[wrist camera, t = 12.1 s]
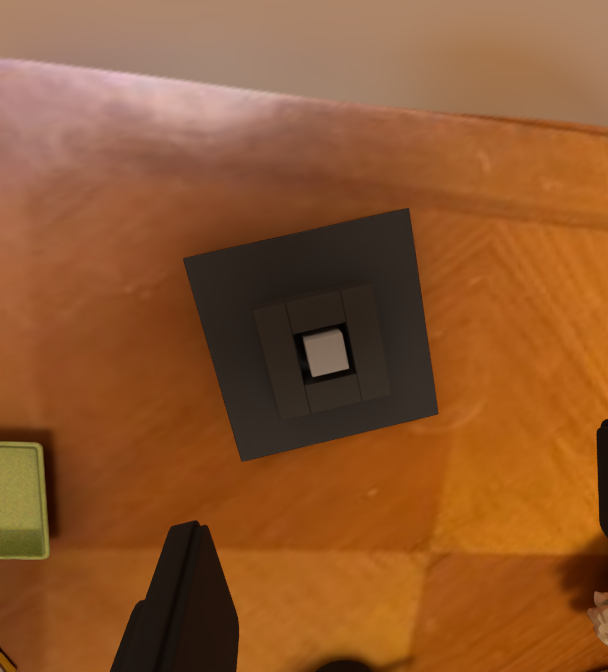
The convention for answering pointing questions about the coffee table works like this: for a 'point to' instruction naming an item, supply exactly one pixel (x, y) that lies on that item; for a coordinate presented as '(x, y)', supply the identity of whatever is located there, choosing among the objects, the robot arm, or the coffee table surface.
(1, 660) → the candy box
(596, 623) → the mineral formation
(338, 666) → the mug
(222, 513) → the coffee table surface
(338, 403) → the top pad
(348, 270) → the base pad
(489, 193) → the coffee table surface
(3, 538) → the saucer
